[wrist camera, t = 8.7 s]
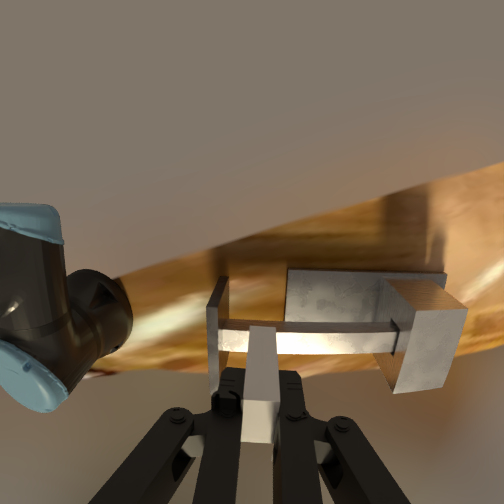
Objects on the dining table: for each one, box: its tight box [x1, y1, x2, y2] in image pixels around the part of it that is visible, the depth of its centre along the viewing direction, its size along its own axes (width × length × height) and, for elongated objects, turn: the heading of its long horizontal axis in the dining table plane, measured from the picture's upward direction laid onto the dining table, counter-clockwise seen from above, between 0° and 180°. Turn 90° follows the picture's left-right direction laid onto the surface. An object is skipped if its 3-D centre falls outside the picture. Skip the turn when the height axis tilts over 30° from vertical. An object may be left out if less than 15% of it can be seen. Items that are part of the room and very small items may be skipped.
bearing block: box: [284, 268, 468, 394], centre depth 39 cm, size 26×13×13 cm, turn 88°
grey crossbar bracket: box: [206, 276, 400, 395], centre depth 38 cm, size 27×12×10 cm, turn 88°
